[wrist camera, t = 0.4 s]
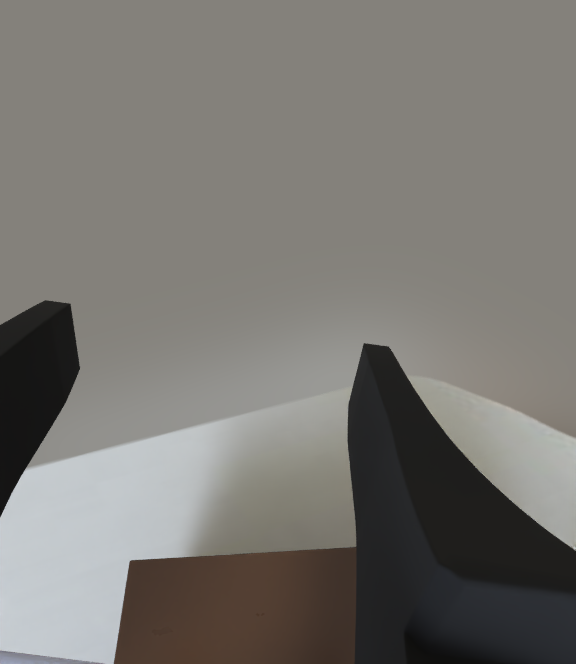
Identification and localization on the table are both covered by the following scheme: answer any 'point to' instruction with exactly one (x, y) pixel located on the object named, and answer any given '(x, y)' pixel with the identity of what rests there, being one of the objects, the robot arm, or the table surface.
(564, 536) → the table surface
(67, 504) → the table surface
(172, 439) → the table surface
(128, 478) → the table surface
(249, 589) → the cabinet
